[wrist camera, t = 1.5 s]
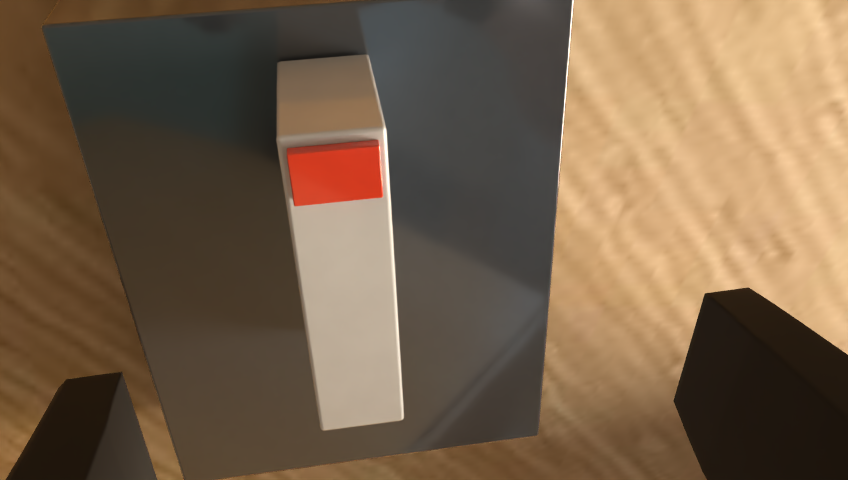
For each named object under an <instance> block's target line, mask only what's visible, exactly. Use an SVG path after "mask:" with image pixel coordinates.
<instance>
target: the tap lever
mask: <svg viewBox="0 0 848 480" xmlns="http://www.w3.org/2000/svg"><path fill="white" fill-rule="evenodd" d="M276 143H277V150H278V157H279V163H280V170H281V176H282V183H283V189H284V196H285V202H286V209H287V216H288V222H289V229H290V235H291V242H292V248H293V255H294V261H295V268H296V275H297V281H298V288H299V294H300V301H301V307H302V314H303V321H304V327H305V334H306V340H307V347H308V353H309V360H310V366H311V373H312V380H313V386H314V393H315V399H316V406H317V412H318V419H319V426H320V428H321V430H323V431H326V430H333V429H341V428H348V427H356V426H364V425H371V424H379V423H386V422H394V421H401V420H403V418H404V403H403V386H402V370H401V354H400V337H399V321H398V305H397V288H396V272H395V256H394V240H393V223H392V207H391V191H390V174H389V158H388V142H387V128H386V124H385V120H384V116H383V111H382V107H381V103H380V99H379V95H378V91H377V86H376V82H375V78H374V74H373V70H372V65H371V61H370V58H369V56H368V55H365V54H364V55H352V56H340V57H328V58H316V59H304V60H292V61H281V62H278V63H277V70H276Z"/></svg>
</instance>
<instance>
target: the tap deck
mask: <svg viewBox="0 0 848 480" xmlns="http://www.w3.org/2000/svg"><path fill="white" fill-rule="evenodd" d="M573 7H574V0H59V1H58V2H57V4H56V5H55V7H54V8H53V10H52V11H51V13H50V14H49V15H48V17H47V18H46V20H45V21H44V23H43V24H42V27H41V29H42V32H43V35H44V38H45V41H46V44H47V48H48V51H49V54H50V57H51V60H52V63H53V67H54V70H55V73H56V76H57V79H58V82H59V86H60V89H61V92H62V95H63V98H64V101H65V105H66V108H67V111H68V114H69V117H70V120H71V124H72V127H73V130H74V133H75V136H76V139H77V143H78V146H79V149H80V152H81V155H82V159H83V162H84V165H85V168H86V171H87V174H88V178H89V181H90V184H91V187H92V190H93V193H94V197H95V200H96V203H97V206H98V209H99V212H100V216H101V219H102V222H103V225H104V228H105V231H106V235H107V238H108V241H109V244H110V247H111V250H112V254H113V257H114V260H115V263H116V266H117V269H118V273H119V276H120V279H121V282H122V285H123V288H124V292H125V295H126V298H127V301H128V304H129V308H130V311H131V314H132V317H133V320H134V323H135V327H136V330H137V333H138V336H139V339H140V342H141V346H142V349H143V352H144V355H145V358H146V361H147V365H148V368H149V371H150V374H151V377H152V380H153V384H154V387H155V390H156V393H157V396H158V399H159V403H160V406H161V409H162V412H163V415H164V418H165V422H166V425H167V428H168V431H169V434H170V437H171V441H172V444H173V447H174V450H175V453H176V456H177V460H178V463H179V466H180V469H181V472H182V476H183V479H184V480H218V479H226V478H233V477H240V476H248V475H255V474H262V473H269V472H277V471H284V470H291V469H299V468H306V467H313V466H321V465H328V464H335V463H343V462H350V461H357V460H365V459H372V458H379V457H387V456H394V455H401V454H409V453H416V452H423V451H431V450H438V449H445V448H453V447H460V446H467V445H475V444H482V443H489V442H497V441H504V440H511V439H519V438H526V437H533V436H538V433H539V422H540V409H541V397H542V385H543V373H544V361H545V348H546V336H547V324H548V312H549V300H550V287H551V275H552V263H553V251H554V239H555V227H556V214H557V202H558V190H559V178H560V166H561V153H562V141H563V129H564V117H565V105H566V92H567V80H568V68H569V56H570V44H571V31H572V19H573ZM364 54H365V55H368V56H369V58H370V61H371V65H372V70H373V74H374V78H375V82H376V86H377V91H378V95H379V99H380V103H381V107H382V111H383V116H384V120H385V124H386V128H387V142H388V158H389V174H390V191H391V207H392V223H393V240H394V256H395V272H396V288H397V305H398V321H399V337H400V354H401V370H402V386H403V403H404V418H403V420H401V421H394V422H386V423H379V424H371V425H364V426H356V427H348V428H341V429H333V430H326V431H323V430H321V428H320V426H319V419H318V412H317V406H316V399H315V393H314V386H313V380H312V373H311V366H310V360H309V353H308V347H307V340H306V334H305V327H304V321H303V314H302V307H301V301H300V294H299V288H298V281H297V275H296V268H295V261H294V255H293V248H292V242H291V235H290V229H289V222H288V216H287V209H286V202H285V196H284V189H283V183H282V176H281V170H280V163H279V157H278V150H277V143H276V70H277V63H278V62H281V61H292V60H304V59H316V58H328V57H340V56H352V55H364Z"/></svg>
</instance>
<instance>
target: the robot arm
mask: <svg viewBox="0 0 848 480" xmlns="http://www.w3.org/2000/svg"><path fill="white" fill-rule="evenodd" d="M674 403H675V406H676V408H677V411H678V413H679V416H680V418H681V421H682V424H683V426H684V429H685V431H686V434H687V436H688V439H689V441H690V444H691V446H692V448H693V451H694V453H695V455H696V457H697V460H698V462H699V464H700V467H701V469H702V471H703V473H704V475H705V477H706V479H707V480H848V355H847V354H846V353H844V352H843V351H842V350H840V349H839V348H837V347H836V346H834V345H833V344H831V343H830V342H829V341H827V340H826V339H824V338H823V337H821V336H820V335H818V334H817V333H816V332H814V331H813V330H811V329H810V328H808V327H807V326H805V325H804V324H803V323H801V322H800V321H798V320H797V319H795V318H794V317H792V316H791V315H789V314H788V313H787V312H785V311H784V310H782V309H781V308H779V307H778V306H776V305H775V304H773V303H772V302H770V301H769V300H767V299H766V298H764V297H763V296H761V295H759V294H758V293H756V292H755V291H753V290H752V289H750V288H742V289H735V290H728V291H720V292H713V293H705V295H704V298H703V302H702V305H701V309H700V312H699V316H698V319H697V322H696V326H695V329H694V333H693V336H692V339H691V343H690V346H689V350H688V353H687V357H686V360H685V363H684V367H683V370H682V374H681V377H680V380H679V384H678V387H677V391H676V394H675V398H674ZM6 480H157V477H156V474H155V471H154V468H153V465H152V462H151V459H150V456H149V453H148V450H147V447H146V444H145V440H144V437H143V434H142V431H141V428H140V425H139V422H138V419H137V416H136V413H135V410H134V407H133V404H132V401H131V398H130V395H129V392H128V389H127V385H126V382H125V379H124V376H123V373H122V372H118V373H110V374H103V375H95V376H88V377H80V378H73V379H66V380H65V381H64V383H63V384H62V385H61V386H60V387H59V388H58V390H57V392H56V393H55V395H54V397H53V399H52V401H51V402H50V404H49V406H48V408H47V410H46V411H45V413H44V415H43V417H42V418H41V420H40V422H39V424H38V426H37V427H36V429H35V431H34V433H33V434H32V436H31V438H30V440H29V441H28V443H27V445H26V446H25V448H24V450H23V452H22V453H21V455H20V457H19V458H18V460H17V462H16V463H15V465H14V467H13V468H12V470H11V472H10V473H9V475H8V477H7V478H6Z"/></svg>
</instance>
